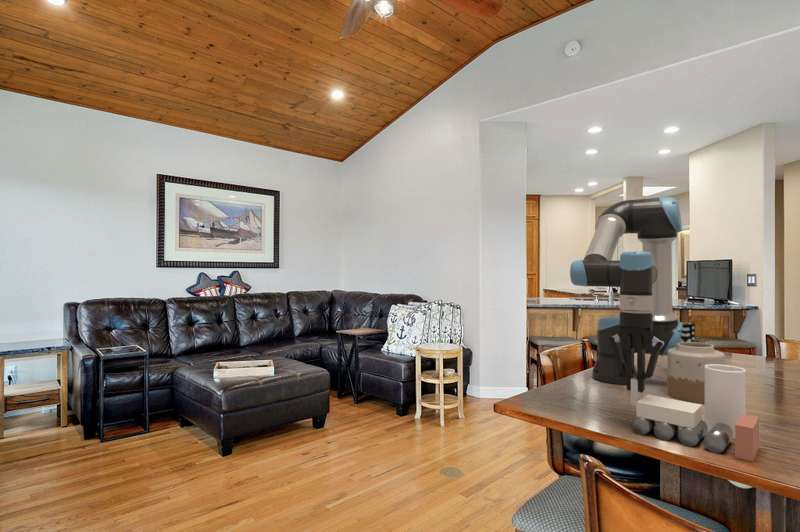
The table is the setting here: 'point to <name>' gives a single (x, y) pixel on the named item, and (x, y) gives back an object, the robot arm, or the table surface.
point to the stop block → (747, 437)
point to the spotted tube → (688, 332)
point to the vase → (690, 370)
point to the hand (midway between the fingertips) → (635, 403)
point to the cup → (724, 395)
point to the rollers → (687, 433)
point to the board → (669, 411)
